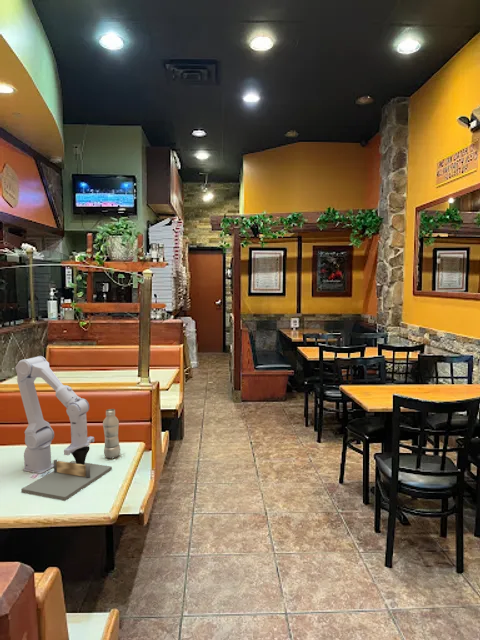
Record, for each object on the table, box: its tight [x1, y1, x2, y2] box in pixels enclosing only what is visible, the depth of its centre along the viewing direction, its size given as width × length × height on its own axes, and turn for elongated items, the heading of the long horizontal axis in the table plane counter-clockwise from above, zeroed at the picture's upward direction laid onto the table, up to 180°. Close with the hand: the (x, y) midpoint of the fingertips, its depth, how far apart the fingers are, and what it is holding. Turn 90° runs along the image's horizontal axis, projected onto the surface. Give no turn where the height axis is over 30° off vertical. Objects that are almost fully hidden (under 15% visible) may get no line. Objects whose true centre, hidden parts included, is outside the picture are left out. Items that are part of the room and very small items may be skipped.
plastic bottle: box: [102, 408, 121, 459], centre depth 174 cm, size 6×7×20 cm
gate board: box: [20, 459, 113, 501], centre depth 154 cm, size 19×25×6 cm
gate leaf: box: [56, 460, 86, 477], centre depth 156 cm, size 13×1×4 cm, turn 71°
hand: (80, 466), depth 160 cm, fingers closed
